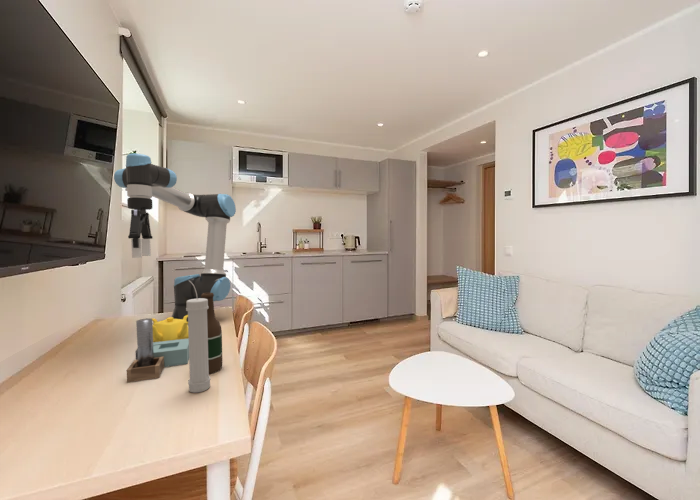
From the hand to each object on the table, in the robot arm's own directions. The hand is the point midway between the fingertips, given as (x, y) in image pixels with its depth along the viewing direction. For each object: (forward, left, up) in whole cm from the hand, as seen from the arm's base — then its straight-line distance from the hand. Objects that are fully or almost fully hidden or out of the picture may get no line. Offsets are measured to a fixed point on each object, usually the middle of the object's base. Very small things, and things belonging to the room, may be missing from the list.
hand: (141, 256), depth 115 cm
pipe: (+41, +21, -35) cm, 58 cm away
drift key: (+10, +5, -34) cm, 36 cm away
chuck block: (+14, +10, -35) cm, 39 cm away
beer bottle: (+28, +23, -35) cm, 50 cm away
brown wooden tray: (+25, +5, -35) cm, 43 cm away
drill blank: (+24, +5, -34) cm, 42 cm away
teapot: (-9, +7, -35) cm, 37 cm away
